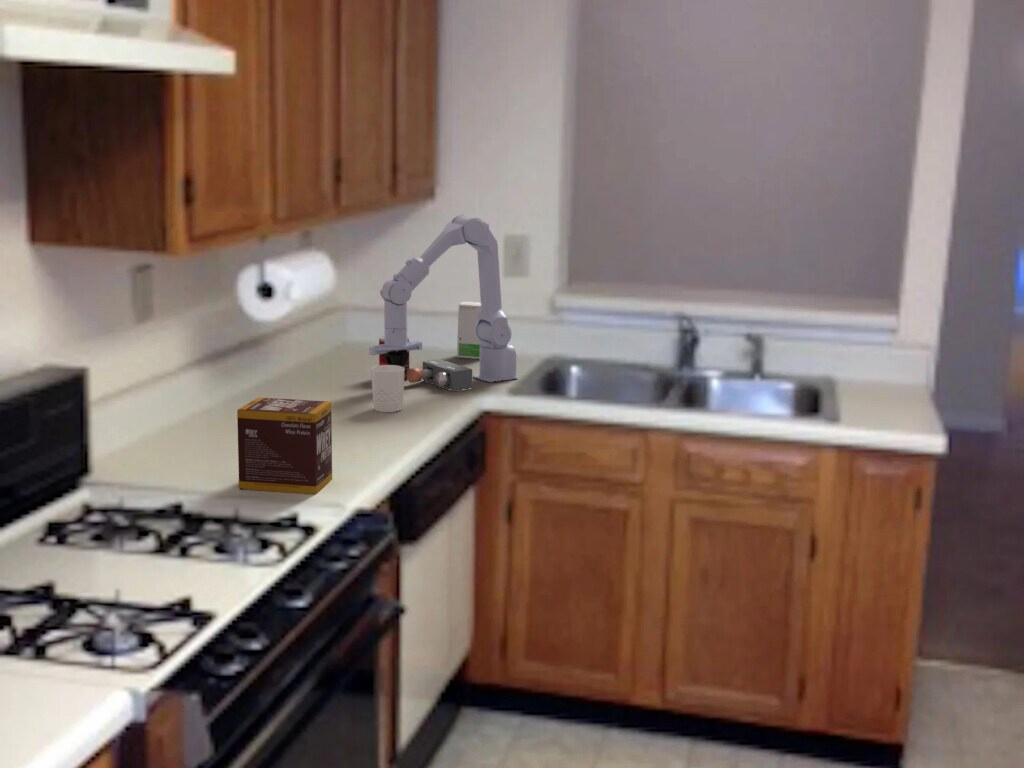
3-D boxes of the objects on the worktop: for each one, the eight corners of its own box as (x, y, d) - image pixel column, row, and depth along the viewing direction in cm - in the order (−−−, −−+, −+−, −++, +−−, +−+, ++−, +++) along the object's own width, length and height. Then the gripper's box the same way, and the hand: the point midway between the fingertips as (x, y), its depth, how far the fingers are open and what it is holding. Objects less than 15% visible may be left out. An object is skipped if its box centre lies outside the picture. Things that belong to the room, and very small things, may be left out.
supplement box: (317, 495, 236) (315, 413, 232) (238, 489, 238) (235, 408, 235) (334, 479, 246) (332, 400, 242) (258, 474, 248) (256, 396, 245)
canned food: (408, 382, 332) (407, 340, 330) (377, 381, 332) (377, 340, 330) (410, 375, 340) (410, 335, 337) (381, 375, 340) (380, 334, 338)
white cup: (411, 409, 302) (411, 368, 300) (386, 415, 297) (386, 373, 295) (389, 404, 308) (389, 363, 306) (364, 409, 302) (364, 368, 300)
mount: (440, 378, 337) (440, 358, 336) (472, 389, 325) (472, 368, 324) (422, 380, 334) (422, 360, 332) (454, 391, 322) (454, 370, 321)
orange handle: (431, 378, 333) (431, 364, 332) (438, 380, 330) (438, 367, 329) (406, 381, 329) (406, 367, 328) (413, 383, 326) (413, 370, 325)
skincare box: (456, 358, 364) (456, 304, 361) (461, 353, 371) (461, 301, 367) (485, 359, 363) (485, 305, 360) (489, 355, 369) (490, 302, 366)
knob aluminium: (459, 382, 329) (459, 368, 328) (466, 384, 326) (467, 370, 325) (434, 385, 324) (434, 371, 324) (442, 388, 322) (442, 374, 321)
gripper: (412, 322, 329) (412, 374, 332) (362, 327, 321) (363, 380, 324) (426, 326, 323) (426, 378, 326) (376, 331, 315) (377, 385, 318)
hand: (396, 380), depth 325 cm, fingers closed
